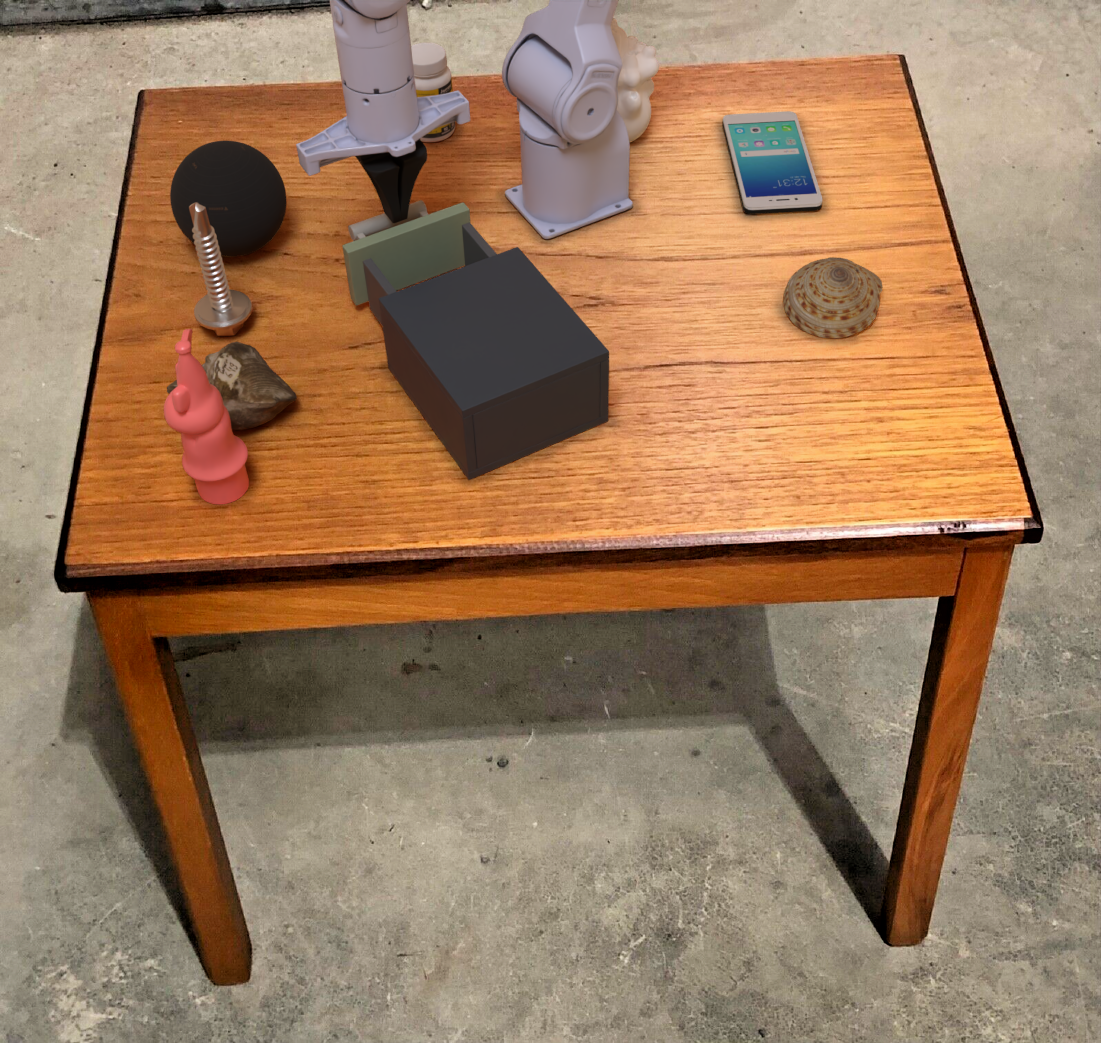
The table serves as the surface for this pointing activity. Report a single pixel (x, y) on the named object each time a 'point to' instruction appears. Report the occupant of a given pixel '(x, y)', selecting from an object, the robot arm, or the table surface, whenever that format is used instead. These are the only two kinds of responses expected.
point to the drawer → (409, 251)
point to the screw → (216, 282)
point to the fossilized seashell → (246, 385)
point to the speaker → (230, 195)
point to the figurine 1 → (205, 431)
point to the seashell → (832, 297)
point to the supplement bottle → (432, 81)
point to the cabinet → (495, 361)
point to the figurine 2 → (634, 81)
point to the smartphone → (771, 163)
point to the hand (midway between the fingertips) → (395, 215)
